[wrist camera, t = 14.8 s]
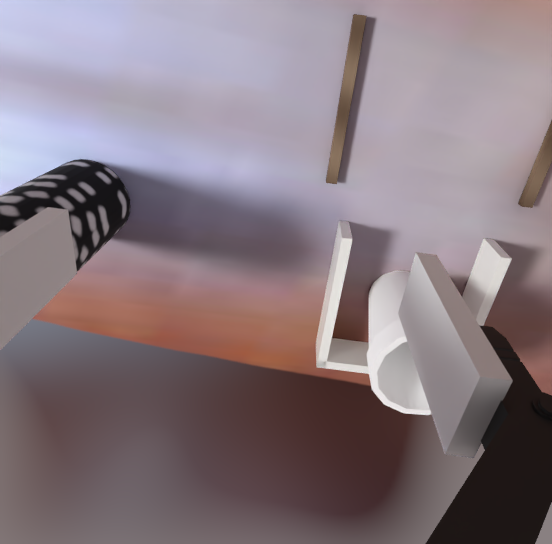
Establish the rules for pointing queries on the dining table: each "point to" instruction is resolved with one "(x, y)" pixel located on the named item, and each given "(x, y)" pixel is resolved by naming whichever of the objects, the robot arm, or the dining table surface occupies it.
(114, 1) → the dining table surface
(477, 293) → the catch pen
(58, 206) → the white-spotted black cylinder
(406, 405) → the foam cup
